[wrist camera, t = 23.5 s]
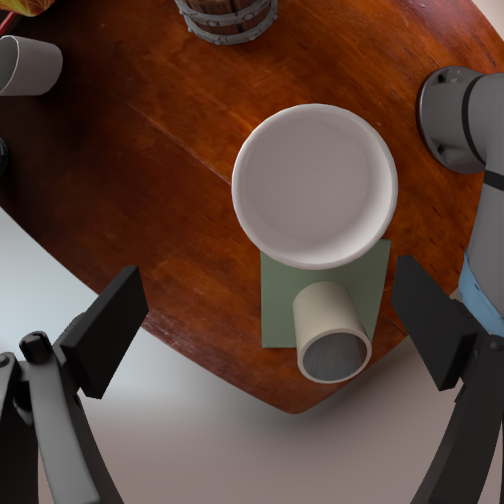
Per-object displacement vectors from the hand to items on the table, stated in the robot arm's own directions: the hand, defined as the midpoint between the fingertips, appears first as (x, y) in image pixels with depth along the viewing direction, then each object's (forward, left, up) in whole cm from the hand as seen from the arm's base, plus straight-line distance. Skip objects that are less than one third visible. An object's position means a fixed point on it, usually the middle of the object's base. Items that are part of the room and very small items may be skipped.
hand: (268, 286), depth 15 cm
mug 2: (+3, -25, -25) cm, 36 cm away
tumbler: (-8, +22, -19) cm, 30 cm away
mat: (-8, +16, -25) cm, 31 cm away
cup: (+33, -21, -25) cm, 47 cm away
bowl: (-5, -1, -25) cm, 26 cm away
